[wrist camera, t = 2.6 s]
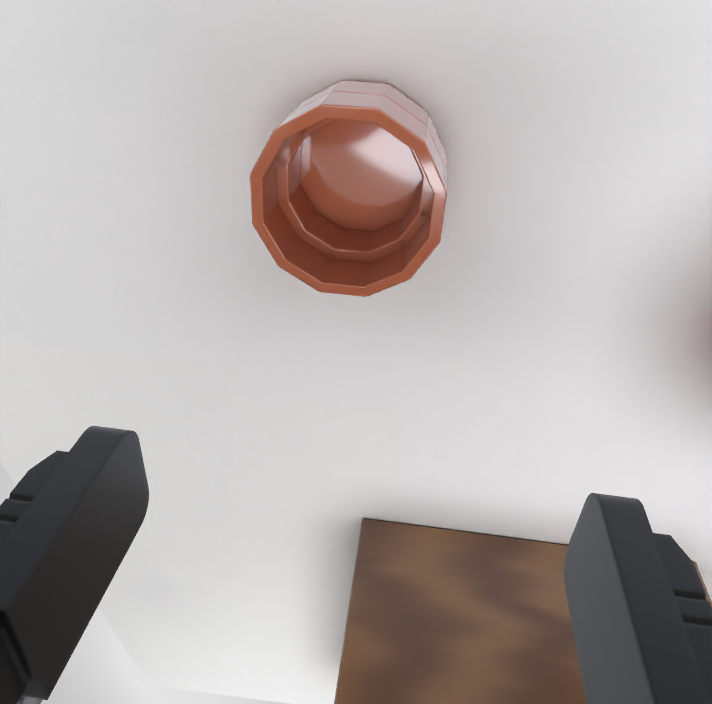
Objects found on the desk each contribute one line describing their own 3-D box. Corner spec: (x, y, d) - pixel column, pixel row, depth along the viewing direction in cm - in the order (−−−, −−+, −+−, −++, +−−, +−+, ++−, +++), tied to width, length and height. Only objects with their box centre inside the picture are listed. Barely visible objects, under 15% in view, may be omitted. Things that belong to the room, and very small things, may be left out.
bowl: (284, 236, 25) (255, 285, 21) (280, 73, 21) (245, 98, 18) (434, 250, 24) (432, 303, 21) (455, 85, 21) (457, 114, 17)
